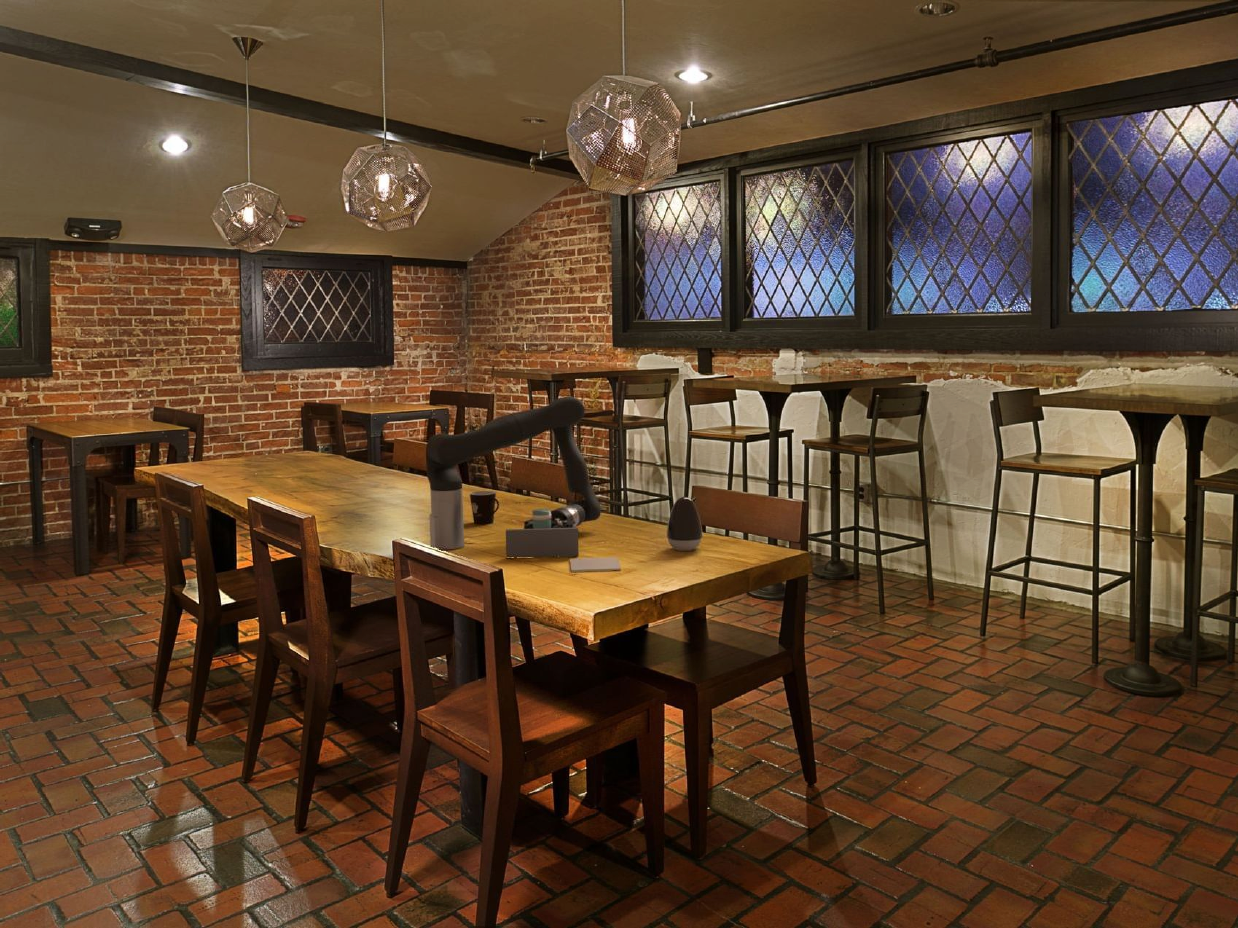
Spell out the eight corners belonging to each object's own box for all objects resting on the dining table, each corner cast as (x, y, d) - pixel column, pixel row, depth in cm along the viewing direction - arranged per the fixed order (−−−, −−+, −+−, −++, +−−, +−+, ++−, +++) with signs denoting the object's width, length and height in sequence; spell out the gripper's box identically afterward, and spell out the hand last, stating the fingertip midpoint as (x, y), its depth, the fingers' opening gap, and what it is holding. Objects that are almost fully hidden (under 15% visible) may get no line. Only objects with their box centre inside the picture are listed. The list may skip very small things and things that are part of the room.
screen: (506, 558, 275) (505, 530, 274) (506, 557, 277) (505, 529, 276) (578, 556, 277) (578, 528, 276) (578, 555, 278) (577, 527, 277)
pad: (571, 572, 259) (571, 569, 259) (570, 560, 272) (570, 558, 272) (621, 570, 260) (621, 568, 260) (617, 559, 273) (617, 557, 273)
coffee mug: (468, 521, 331) (467, 491, 330) (493, 519, 334) (492, 490, 333) (475, 527, 321) (474, 497, 319) (501, 525, 324) (500, 495, 322)
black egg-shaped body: (710, 548, 285) (709, 496, 283) (687, 554, 278) (687, 501, 276) (682, 543, 292) (681, 492, 290) (659, 549, 284) (659, 497, 282)
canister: (536, 554, 280) (535, 512, 279) (530, 550, 285) (529, 509, 283) (554, 552, 282) (553, 511, 281) (548, 548, 287) (547, 508, 286)
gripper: (540, 506, 298) (516, 515, 283) (584, 508, 293) (562, 518, 278) (541, 530, 299) (517, 541, 284) (584, 533, 294) (562, 544, 279)
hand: (539, 530), depth 281 cm, fingers open, 8 cm apart
